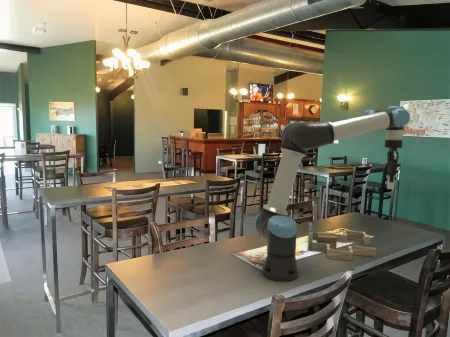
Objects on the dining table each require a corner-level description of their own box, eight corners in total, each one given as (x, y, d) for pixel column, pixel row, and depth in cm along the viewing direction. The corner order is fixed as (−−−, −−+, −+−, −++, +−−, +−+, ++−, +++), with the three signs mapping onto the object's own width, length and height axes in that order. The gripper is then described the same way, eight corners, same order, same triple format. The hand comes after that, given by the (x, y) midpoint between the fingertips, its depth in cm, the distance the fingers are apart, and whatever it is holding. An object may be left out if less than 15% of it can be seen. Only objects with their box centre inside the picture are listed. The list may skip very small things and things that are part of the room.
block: (336, 249, 181) (336, 237, 180) (318, 248, 182) (318, 236, 182) (333, 243, 190) (334, 232, 189) (316, 242, 191) (316, 231, 190)
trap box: (378, 263, 163) (380, 244, 162) (307, 256, 170) (308, 238, 169) (366, 239, 198) (367, 223, 197) (308, 234, 205) (309, 218, 204)
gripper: (406, 140, 161) (402, 191, 164) (399, 139, 174) (395, 187, 177) (388, 139, 163) (384, 190, 166) (382, 138, 176) (379, 186, 179)
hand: (390, 188), depth 171 cm, fingers closed
